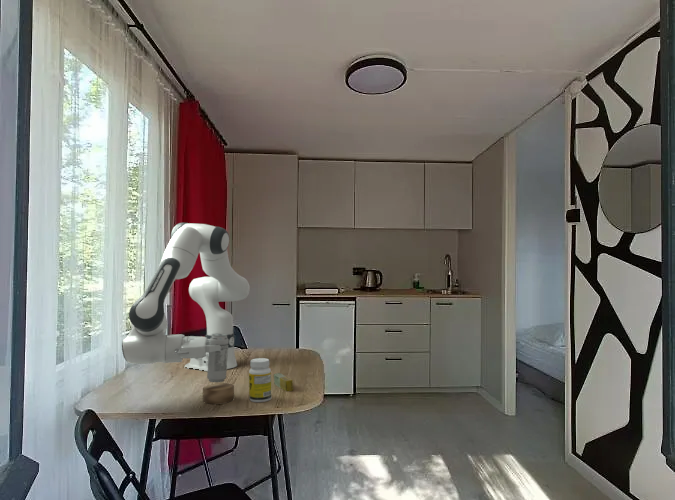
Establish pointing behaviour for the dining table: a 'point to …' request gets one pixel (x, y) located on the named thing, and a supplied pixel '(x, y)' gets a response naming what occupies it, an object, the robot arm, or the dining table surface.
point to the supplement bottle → (260, 380)
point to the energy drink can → (218, 358)
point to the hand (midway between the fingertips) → (220, 345)
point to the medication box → (283, 382)
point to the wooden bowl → (218, 393)
